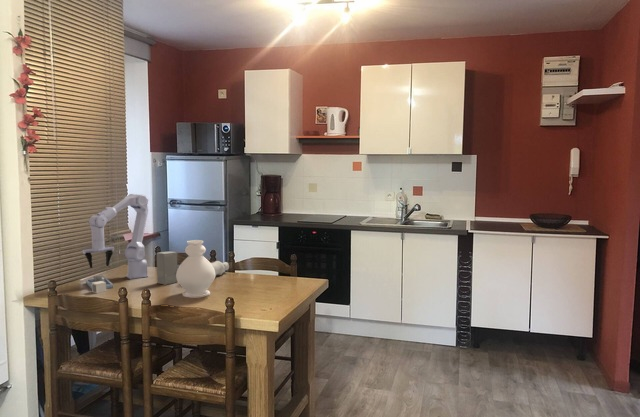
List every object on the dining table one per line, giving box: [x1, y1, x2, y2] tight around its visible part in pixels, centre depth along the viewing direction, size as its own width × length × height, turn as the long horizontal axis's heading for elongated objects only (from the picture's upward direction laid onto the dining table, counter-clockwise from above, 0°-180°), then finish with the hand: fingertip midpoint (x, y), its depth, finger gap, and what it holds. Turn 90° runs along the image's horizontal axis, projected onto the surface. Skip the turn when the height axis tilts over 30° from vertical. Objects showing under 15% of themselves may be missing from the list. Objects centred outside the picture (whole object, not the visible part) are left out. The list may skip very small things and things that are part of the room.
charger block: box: [91, 281, 107, 294], centre depth 244 cm, size 5×4×4 cm
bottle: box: [210, 260, 230, 277], centre depth 272 cm, size 9×9×30 cm
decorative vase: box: [176, 239, 216, 299], centre depth 239 cm, size 18×18×25 cm
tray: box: [85, 277, 114, 290], centre depth 255 cm, size 17×9×2 cm, turn 35°
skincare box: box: [156, 250, 178, 286], centre depth 261 cm, size 8×7×16 cm
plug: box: [93, 274, 105, 282], centre depth 255 cm, size 12×4×4 cm, turn 34°
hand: (99, 266), depth 256 cm, fingers open, 7 cm apart
